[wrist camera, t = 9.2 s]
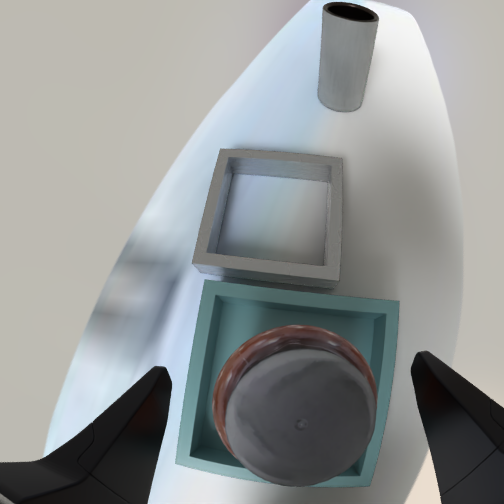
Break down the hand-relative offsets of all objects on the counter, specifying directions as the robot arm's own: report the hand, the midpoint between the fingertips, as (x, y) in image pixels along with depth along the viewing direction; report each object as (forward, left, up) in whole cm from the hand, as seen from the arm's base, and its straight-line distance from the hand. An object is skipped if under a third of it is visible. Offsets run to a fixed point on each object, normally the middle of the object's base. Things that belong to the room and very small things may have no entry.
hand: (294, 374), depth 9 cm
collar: (+10, +2, -9) cm, 14 cm away
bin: (-1, 0, -9) cm, 9 cm away
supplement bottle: (-1, 0, -9) cm, 9 cm away
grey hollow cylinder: (+25, -3, -9) cm, 26 cm away
